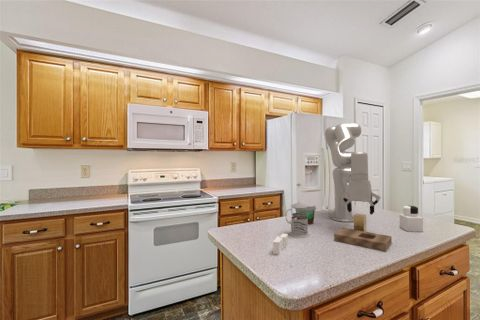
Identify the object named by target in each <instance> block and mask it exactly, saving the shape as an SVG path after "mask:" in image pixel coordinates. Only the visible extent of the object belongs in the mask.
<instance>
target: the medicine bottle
mask: <svg viewBox="0 0 480 320" xmlns="http://www.w3.org/2000/svg"><path fill="white" fill-rule="evenodd" d="M402 209H403V210H402V211H403V213H400V214H399V228H400V229H401V230H404V231H406V232H409V233H411V232H412V233H423V232H424V227H423V226H424V224H423V223H424V220H423V219H424V218H423V217H421V216H419V207H418V206H415V205H404V206H403V208H402Z"/></svg>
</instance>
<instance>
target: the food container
mask: <svg viewBox="0 0 480 320" xmlns="http://www.w3.org/2000/svg"><path fill="white" fill-rule="evenodd" d="M307 206H308V205H307ZM293 209H294V210H295V213H299V212H300V213H304V214H306V215H307V216H305V217H307V218H308V225H312V224H314V223H315V222H314V221H315V212H316V210H317V207H316V205H314V206H308V207H307V208H306V209H296V208H293ZM296 219H299V220H302V219H300V218H296ZM302 224H303V223H302Z"/></svg>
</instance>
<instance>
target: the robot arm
mask: <svg viewBox="0 0 480 320" xmlns="http://www.w3.org/2000/svg"><path fill="white" fill-rule="evenodd" d="M361 135H362V127H361V125H360V124H359V123H357V122H347V123H346V122H345V123H339V124H337V125H334V126H329V127H327V128H326V129H325V131H324V138H325V141H326V144H327V146H328V148H329V151H330V155H331V160H332V163H333V165H334V167H335V168H334V169H332V179H333V185H334V187H333V188H334V210H333V211H332V210H328V212H327V213H328V215H332V217H331V218H332V220H334V221H337V222H341V223H342V222H343V223H352V222H353V223H354V216H353V201H354V202H361V203H362V202H363V203H365V202H366V203H369V204H370V205H369V214H370V215H373V214H374V213H375V205H377V204H378V203H379V202H380V200H381V196H379V195H378V194H376V193H374V192H373V189H372V184H371V181H370V180H369V161H368V160H369V159H368V158H369V157H368V153H367V152H365V151H364V152H363V151H360V152H359V151H357V152H355V151H346V150H348V149H350V148H352V147H353V146H354V145H355V143H356V141H355V139H356V138H359V137H360V136H361ZM373 197H374V198H375V200H373Z"/></svg>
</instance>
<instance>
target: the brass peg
mask: <svg viewBox="0 0 480 320" xmlns="http://www.w3.org/2000/svg"><path fill="white" fill-rule="evenodd" d="M353 217H354V221H353V230H359V231H364V232H367V214H362V213H355V214H353Z"/></svg>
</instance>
